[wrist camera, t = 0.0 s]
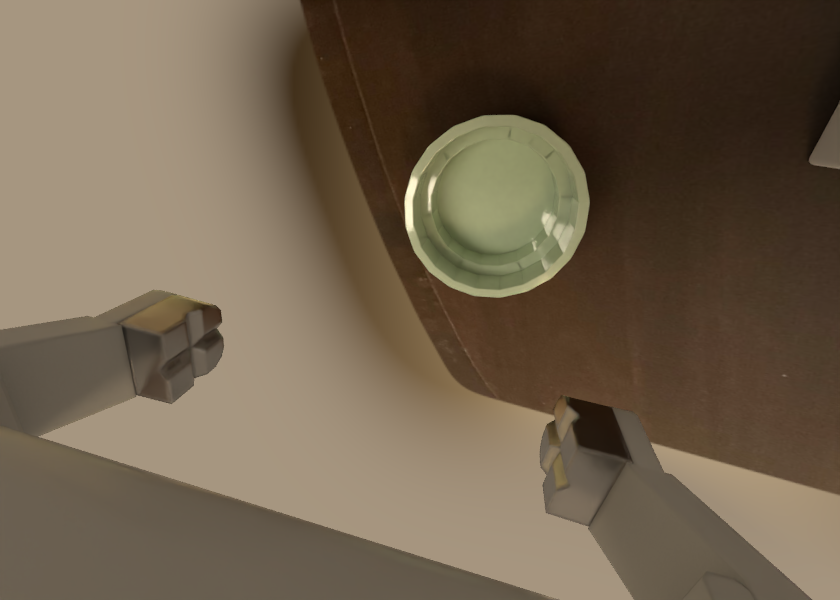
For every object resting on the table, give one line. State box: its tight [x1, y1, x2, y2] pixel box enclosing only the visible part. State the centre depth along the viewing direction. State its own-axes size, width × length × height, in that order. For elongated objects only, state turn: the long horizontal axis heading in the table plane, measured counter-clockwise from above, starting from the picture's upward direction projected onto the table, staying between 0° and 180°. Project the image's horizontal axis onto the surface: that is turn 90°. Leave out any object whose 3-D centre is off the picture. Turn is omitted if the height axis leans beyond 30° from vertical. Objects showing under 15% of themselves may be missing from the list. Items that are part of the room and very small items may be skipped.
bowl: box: [404, 115, 590, 297], centre depth 26 cm, size 11×11×6 cm
